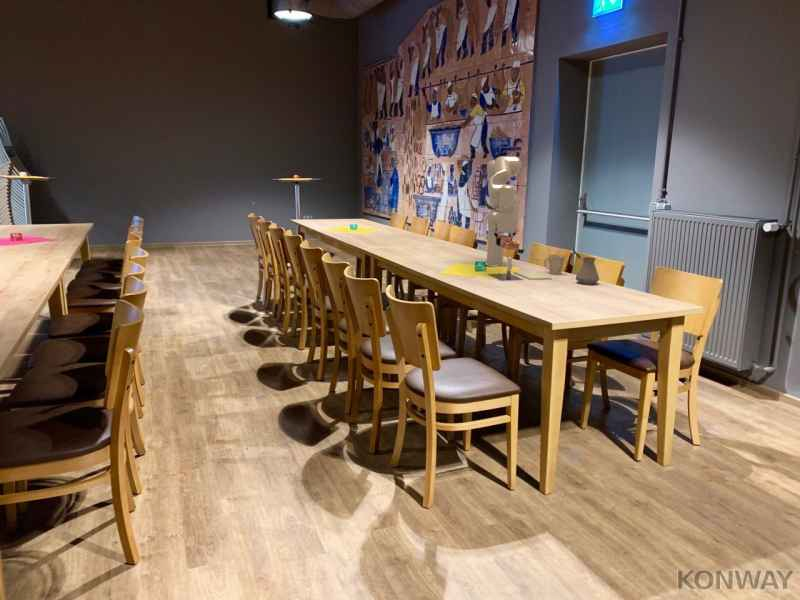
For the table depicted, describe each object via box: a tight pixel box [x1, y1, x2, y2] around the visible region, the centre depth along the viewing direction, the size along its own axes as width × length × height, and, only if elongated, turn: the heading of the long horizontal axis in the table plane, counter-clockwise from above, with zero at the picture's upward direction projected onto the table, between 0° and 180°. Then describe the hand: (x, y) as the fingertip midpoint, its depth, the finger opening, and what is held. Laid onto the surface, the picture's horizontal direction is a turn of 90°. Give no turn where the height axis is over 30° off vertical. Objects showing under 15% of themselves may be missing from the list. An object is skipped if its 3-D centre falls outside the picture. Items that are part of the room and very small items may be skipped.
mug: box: [543, 254, 565, 276], centre depth 340 cm, size 8×13×10 cm, turn 39°
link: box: [497, 235, 520, 251], centre depth 318 cm, size 14×6×5 cm, turn 15°
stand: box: [487, 256, 525, 282], centre depth 321 cm, size 18×13×12 cm
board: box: [513, 270, 553, 281], centre depth 325 cm, size 20×12×2 cm, turn 15°
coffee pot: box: [571, 249, 600, 286], centre depth 318 cm, size 21×12×15 cm, turn 17°
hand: (503, 245), depth 322 cm, fingers closed on link, 5 cm apart
